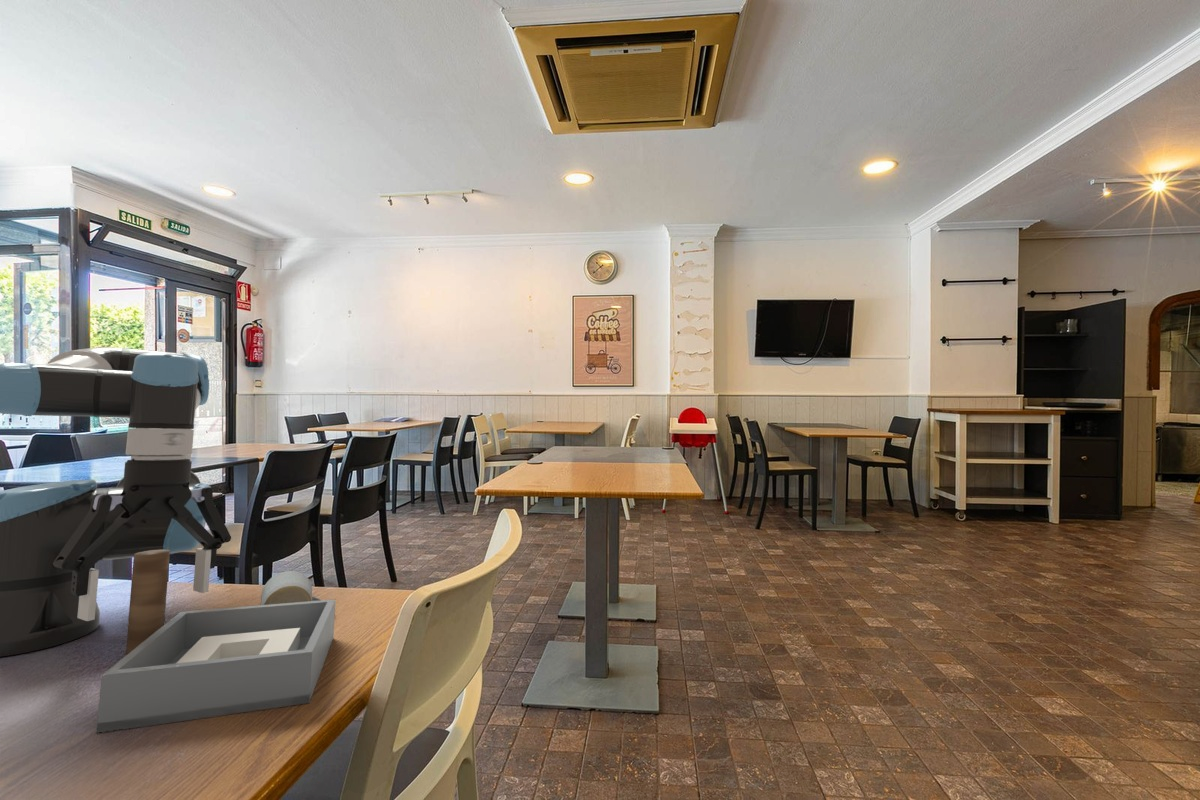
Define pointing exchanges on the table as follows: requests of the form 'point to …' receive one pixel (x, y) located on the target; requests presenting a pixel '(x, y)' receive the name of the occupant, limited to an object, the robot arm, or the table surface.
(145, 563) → the walnut peg
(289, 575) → the ceramic mug
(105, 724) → the grey box
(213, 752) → the table surface
